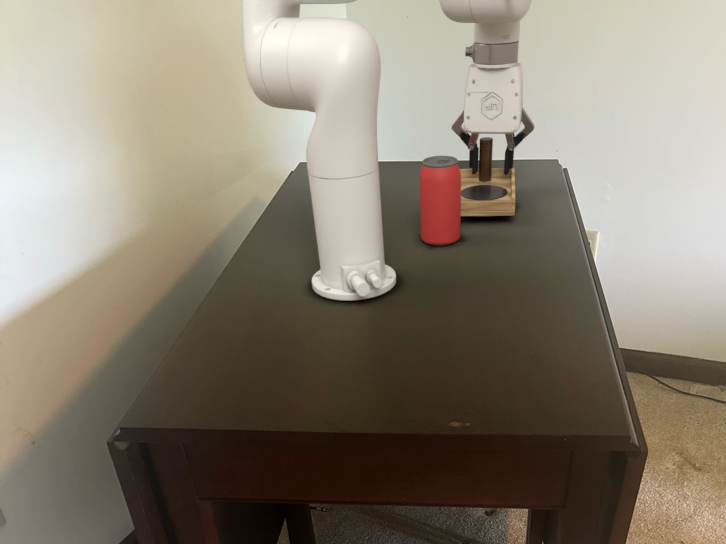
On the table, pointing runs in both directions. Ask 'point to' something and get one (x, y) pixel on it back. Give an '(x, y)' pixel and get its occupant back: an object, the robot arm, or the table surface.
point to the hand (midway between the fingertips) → (490, 171)
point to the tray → (487, 187)
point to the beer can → (440, 200)
